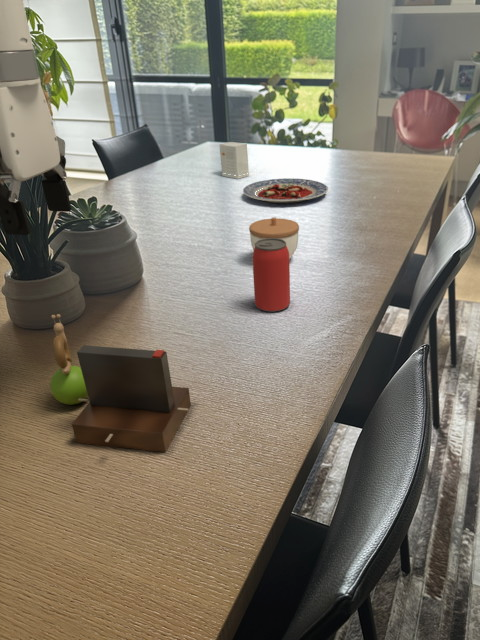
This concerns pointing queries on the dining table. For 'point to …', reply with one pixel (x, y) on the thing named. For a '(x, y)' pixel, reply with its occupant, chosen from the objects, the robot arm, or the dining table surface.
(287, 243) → the trinket box
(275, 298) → the beer can
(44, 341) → the dining table surface
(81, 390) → the green ball on stick
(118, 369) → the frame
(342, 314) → the dining table surface
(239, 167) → the small box
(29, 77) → the robot arm
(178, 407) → the frame stand
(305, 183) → the ceramic plate
